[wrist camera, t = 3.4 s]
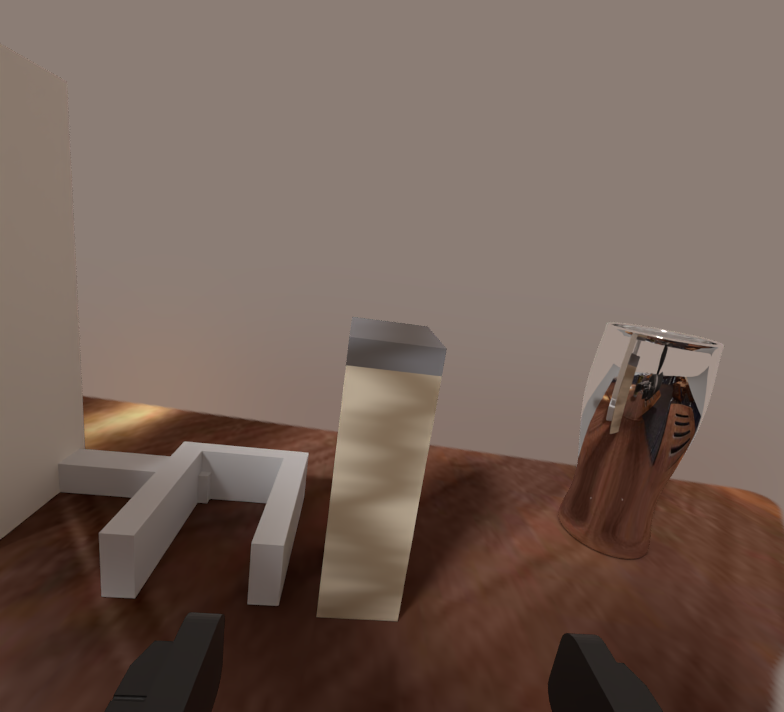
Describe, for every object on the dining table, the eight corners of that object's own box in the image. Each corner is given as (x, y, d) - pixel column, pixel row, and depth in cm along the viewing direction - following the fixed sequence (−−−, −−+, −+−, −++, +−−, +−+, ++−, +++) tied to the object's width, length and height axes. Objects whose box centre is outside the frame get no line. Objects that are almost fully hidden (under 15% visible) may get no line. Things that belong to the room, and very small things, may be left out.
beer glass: (546, 492, 34) (592, 317, 30) (636, 515, 32) (696, 334, 29) (558, 546, 27) (619, 330, 24) (672, 578, 26) (756, 353, 22)
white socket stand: (-213, 580, 18) (-395, -97, 12) (-9, 463, 27) (-54, 60, 21) (278, 605, 20) (328, 46, 14) (306, 489, 29) (342, 130, 24)
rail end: (316, 617, 19) (349, 336, 16) (325, 544, 24) (352, 317, 21) (397, 621, 20) (446, 348, 16) (390, 549, 25) (427, 326, 21)
